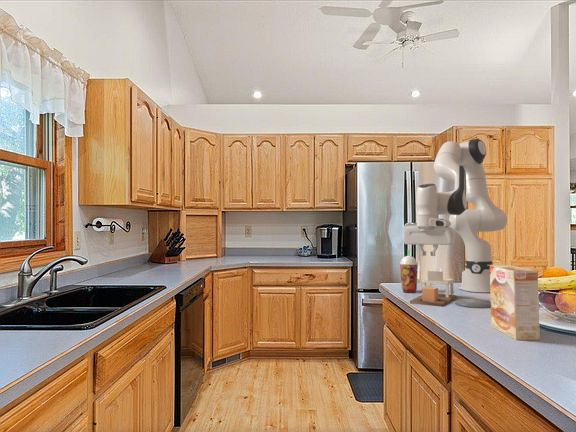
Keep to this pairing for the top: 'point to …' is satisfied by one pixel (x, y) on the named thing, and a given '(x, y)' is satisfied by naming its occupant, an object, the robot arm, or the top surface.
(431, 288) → the block
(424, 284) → the cover
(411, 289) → the smoothie
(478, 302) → the saucer
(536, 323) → the coffeecake box
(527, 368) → the top surface
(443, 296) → the puzzle board
